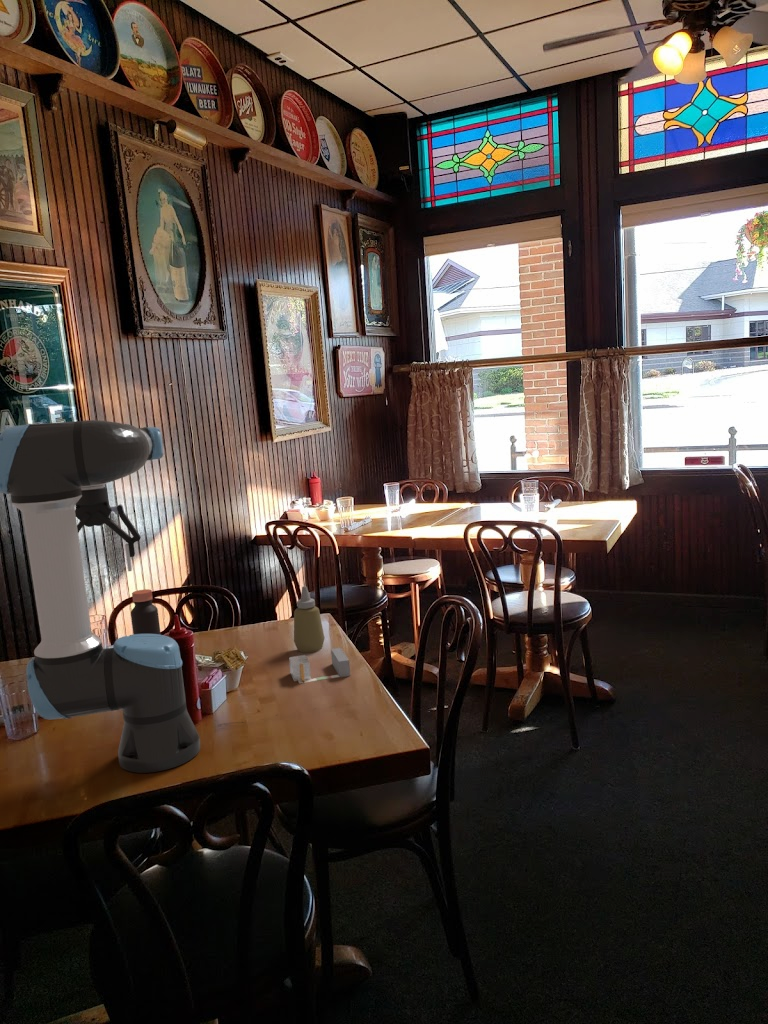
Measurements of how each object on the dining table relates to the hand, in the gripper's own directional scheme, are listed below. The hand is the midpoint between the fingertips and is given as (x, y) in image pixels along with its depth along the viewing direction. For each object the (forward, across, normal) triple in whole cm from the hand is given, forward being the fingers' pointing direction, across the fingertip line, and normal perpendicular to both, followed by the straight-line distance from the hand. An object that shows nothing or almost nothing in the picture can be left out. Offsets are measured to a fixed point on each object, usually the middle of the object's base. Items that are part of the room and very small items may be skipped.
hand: (101, 573), depth 186 cm
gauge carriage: (+26, -44, +22) cm, 55 cm away
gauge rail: (+28, -47, +22) cm, 59 cm away
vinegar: (+28, -8, -9) cm, 30 cm away
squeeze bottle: (+28, -49, +2) cm, 57 cm away
